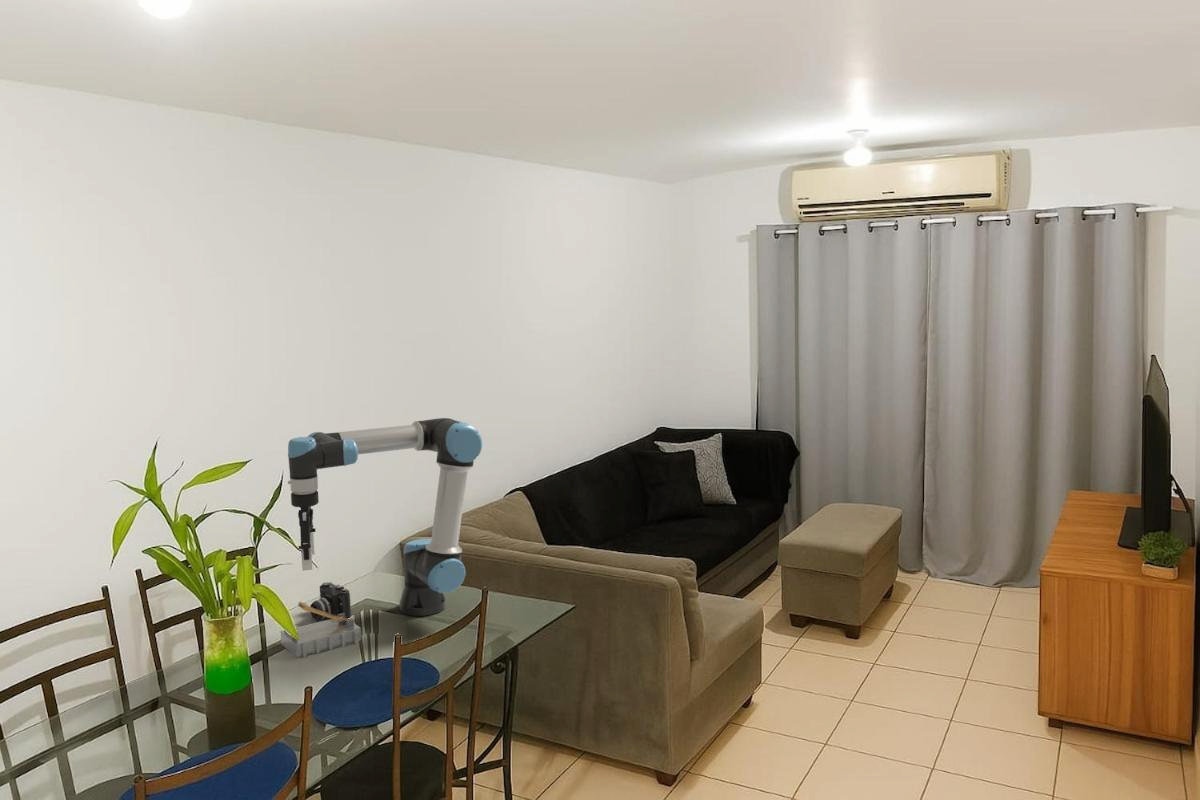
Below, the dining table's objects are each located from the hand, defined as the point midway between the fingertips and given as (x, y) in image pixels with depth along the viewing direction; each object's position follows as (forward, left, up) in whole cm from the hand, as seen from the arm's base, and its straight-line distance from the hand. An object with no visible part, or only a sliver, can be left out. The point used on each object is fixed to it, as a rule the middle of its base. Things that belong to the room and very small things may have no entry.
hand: (308, 562), depth 271 cm
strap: (-6, -4, -19) cm, 21 cm away
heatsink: (-5, -4, -27) cm, 28 cm away
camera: (-15, -22, -28) cm, 39 cm away
